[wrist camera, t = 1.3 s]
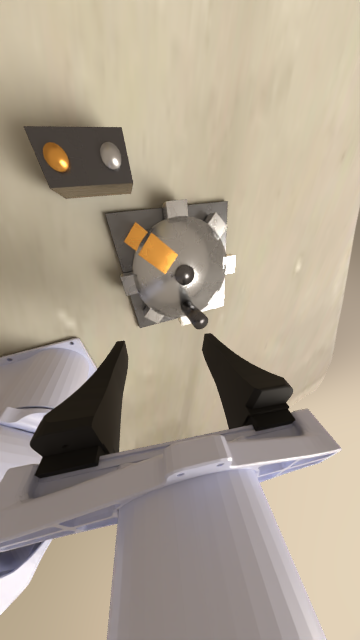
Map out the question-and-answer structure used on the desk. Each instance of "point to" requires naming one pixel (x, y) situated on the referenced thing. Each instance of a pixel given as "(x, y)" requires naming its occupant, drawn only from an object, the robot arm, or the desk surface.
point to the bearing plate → (147, 219)
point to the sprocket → (178, 265)
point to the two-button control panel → (82, 160)
